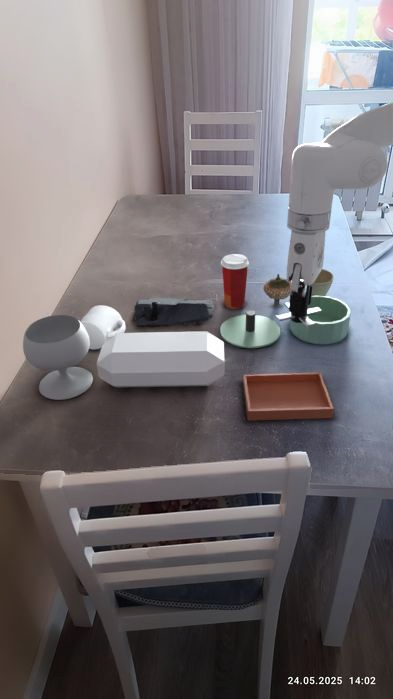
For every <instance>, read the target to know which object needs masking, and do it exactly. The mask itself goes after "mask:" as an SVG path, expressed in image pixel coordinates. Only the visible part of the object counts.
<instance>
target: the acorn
mask: <svg viewBox="0 0 393 699" xmlns="http://www.w3.org/2000/svg"><path fill="white" fill-rule="evenodd" d="M291 283H292V281H291V282H288V280H287V278H284V277H280V273H277V275H276V277H274V278H270V279H269V280H267V281H266V282H265V283H264V284H263V287H262V289H263V292H264V293H265V294H266V296H267V297H268V298H269V299H273V301H274V302H273V306H274V307H279V306H280V305H281V304H280V300H285V299H287V298H288V297H290V292H291V291H290V288H291Z"/></svg>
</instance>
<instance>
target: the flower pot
mask: <svg viewBox="0 0 393 699" xmlns="http://www.w3.org/2000/svg"><path fill="white" fill-rule="evenodd" d="M334 278H335V277H334V274H333V273H332V272H331V271H330V270H327V269H324V268H322V270H321V272H320V273H319V275H318V277H317V278H316V280H315V281H314V283H313V284H312V287H313V288H312V296H319V295H320V296H326V295H327V293H329V291H330V289H331V287H332V284H333V281H334Z"/></svg>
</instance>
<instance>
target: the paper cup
mask: <svg viewBox="0 0 393 699" xmlns="http://www.w3.org/2000/svg"><path fill="white" fill-rule="evenodd" d="M249 265H250V261H249V260H248V257H247V256H245V255H244V254H240V253H231V254H227V255H225V256H223V258H221V261H220V266H221V269H222V284H223V297H224V305H225V307H226V308H228V309H232V310H236V309H241V308H243V307H244V306H245V300H246V293H247V292H246V290H247V280H248V270H249V269H248V268H249V267H248V266H249Z"/></svg>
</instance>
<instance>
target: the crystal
mask: <svg viewBox="0 0 393 699" xmlns="http://www.w3.org/2000/svg"><path fill="white" fill-rule="evenodd" d="M225 362H226V361H225V342H224V341H223V340H222V339H220V338H218V337H217V336H215V335H214V334H212V333H210V332H209V331H207V330H205V331H204V330H203V331H161V332H160V331H158V332H155V331H154V332H152V331H151V332H124V333H117V334H116V335H114V336H113V337H112V338H110V339H109V340H108V341H106V342H105V343H104V344H103V345H102V347H101V348H100V351H99V355H98V358H97V361H96V369H97V374H98V378H99V379H101V380H102V381H104V382H106V383H108V384H109V385H111V386H112V387H115V388H166V387H169V388H171V387H173V388H174V387H177V388H178V387H209V386H210V385H212V384H213V383H215V382H217V381H218V380H220V379H221V378H223V377H224V376H225V375H226V374H225V373H226V372H225V368H226V367H225V364H226V363H225Z"/></svg>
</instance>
